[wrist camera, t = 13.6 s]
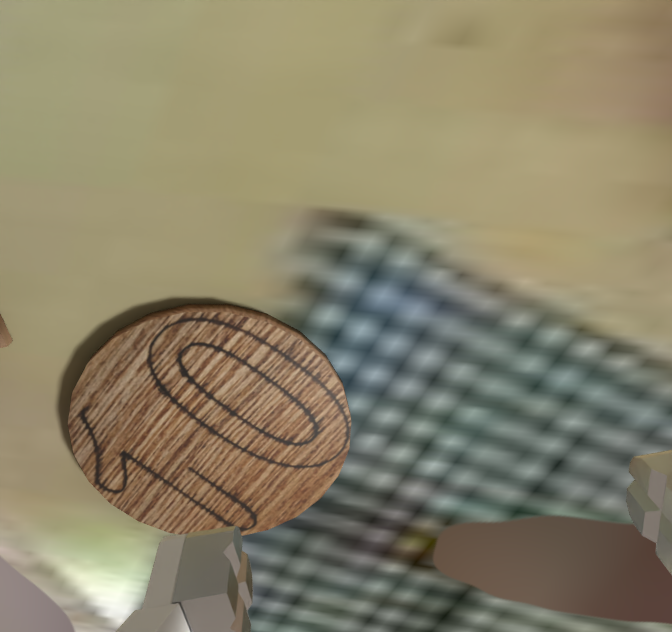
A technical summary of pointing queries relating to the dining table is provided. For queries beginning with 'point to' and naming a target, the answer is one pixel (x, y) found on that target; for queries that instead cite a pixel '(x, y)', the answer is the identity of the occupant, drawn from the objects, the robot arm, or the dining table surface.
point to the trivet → (210, 420)
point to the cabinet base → (4, 334)
